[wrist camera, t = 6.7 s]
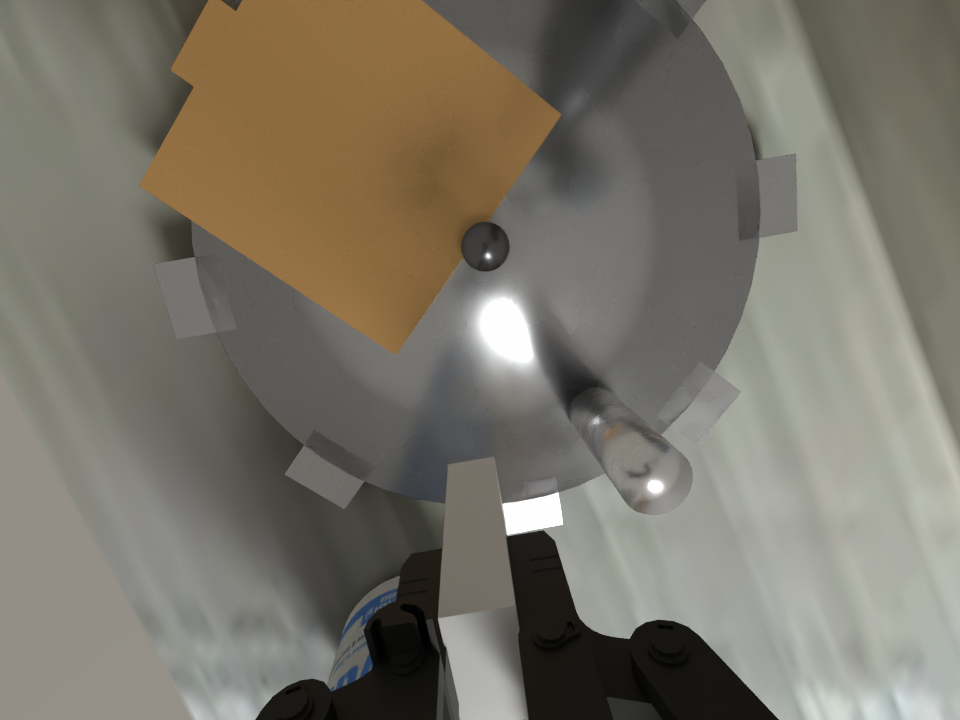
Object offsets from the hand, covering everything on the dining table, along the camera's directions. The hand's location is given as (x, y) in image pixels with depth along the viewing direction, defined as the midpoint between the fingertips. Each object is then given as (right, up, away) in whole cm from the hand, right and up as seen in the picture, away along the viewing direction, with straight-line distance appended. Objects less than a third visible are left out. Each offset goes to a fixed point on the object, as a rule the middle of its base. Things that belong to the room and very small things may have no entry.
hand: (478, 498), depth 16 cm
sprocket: (0, +10, +7) cm, 12 cm away
